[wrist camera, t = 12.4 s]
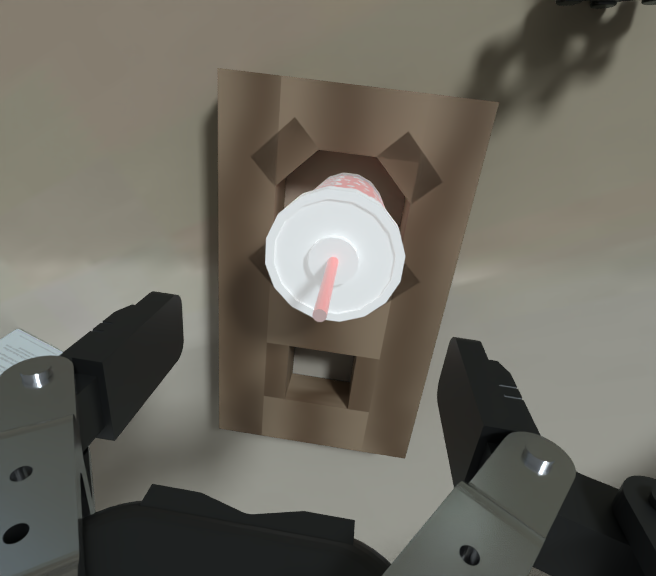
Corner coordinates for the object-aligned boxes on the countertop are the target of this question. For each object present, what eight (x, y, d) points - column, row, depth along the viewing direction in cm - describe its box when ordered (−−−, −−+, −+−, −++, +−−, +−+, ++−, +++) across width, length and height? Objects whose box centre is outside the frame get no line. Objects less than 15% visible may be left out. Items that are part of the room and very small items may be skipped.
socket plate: (484, 102, 22) (499, 102, 20) (402, 428, 33) (405, 458, 30) (235, 72, 23) (217, 68, 20) (231, 401, 33) (219, 428, 31)
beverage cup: (393, 155, 24) (415, 215, 11) (396, 252, 27) (416, 390, 14) (292, 163, 25) (208, 229, 12) (304, 257, 27) (245, 393, 15)
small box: (3, 371, 34) (-138, 474, 25) (18, 325, 32) (-130, 419, 23) (90, 417, 36) (-13, 532, 26) (111, 375, 33) (7, 484, 24)
